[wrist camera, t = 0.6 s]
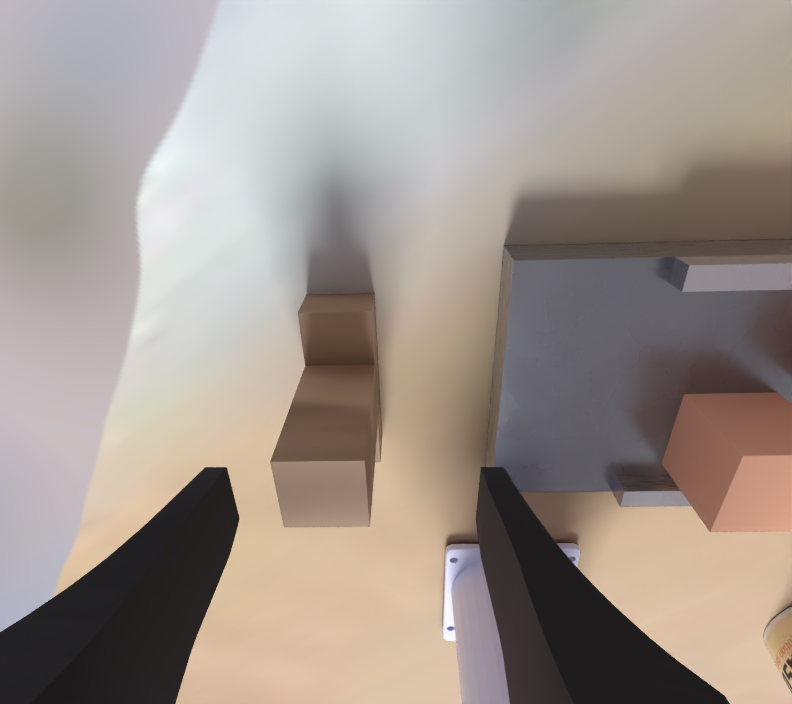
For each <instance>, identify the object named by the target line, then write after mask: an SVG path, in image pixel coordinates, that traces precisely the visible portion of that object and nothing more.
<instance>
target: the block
mask: <svg viewBox="0 0 792 704" xmlns="http://www.w3.org/2000/svg"><path fill="white" fill-rule="evenodd" d="M661 464H662V465H663V466H664V468H665V469H666V471H667V472H668V473H669V475H670V476H671V478H672V479H673V480H674V482H675V483H676V485H677V486H678V487H679V489H680V490H681V492H682V493H683V495H684V496H685V497H686V499H687V500H688V502H689V503H690V504H691V506H692V507H693V509H694V510H695V511H696V513H697V514H698V516H699V517H700V518H701V520H702V521H703V523H704V524H705V525H706V527H707V528H708V530H709V531H710V532H772V531H792V404H791V403H790V402H789V401H787V400H786V399H785V398H783V397H782V396H781V395H780V394H778V393H717V394H684V396H683V399H682V402H681V405H680V408H679V411H678V414H677V417H676V420H675V423H674V427H673V430H672V433H671V436H670V439H669V442H668V445H667V448H666V451H665V454H664V457H663V460H662V463H661Z"/></svg>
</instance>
